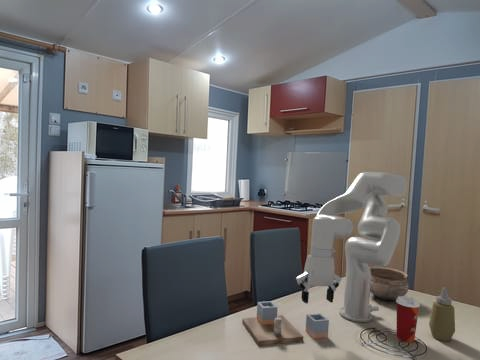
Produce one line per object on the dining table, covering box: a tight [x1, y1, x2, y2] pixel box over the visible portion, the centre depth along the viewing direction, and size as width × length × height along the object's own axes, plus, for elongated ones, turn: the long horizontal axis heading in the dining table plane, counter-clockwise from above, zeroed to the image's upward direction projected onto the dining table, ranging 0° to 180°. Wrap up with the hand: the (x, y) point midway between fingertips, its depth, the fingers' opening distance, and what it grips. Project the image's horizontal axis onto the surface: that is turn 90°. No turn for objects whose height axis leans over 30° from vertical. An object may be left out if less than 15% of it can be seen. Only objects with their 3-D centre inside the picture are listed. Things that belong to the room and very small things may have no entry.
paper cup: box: [395, 295, 421, 344], centre depth 121 cm, size 8×8×14 cm
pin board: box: [241, 306, 304, 346], centre depth 121 cm, size 16×17×6 cm
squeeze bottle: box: [428, 287, 456, 342], centre depth 123 cm, size 8×8×18 cm
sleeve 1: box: [256, 300, 278, 325], centre depth 125 cm, size 6×6×6 cm
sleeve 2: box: [305, 312, 330, 339], centre depth 120 cm, size 6×6×6 cm
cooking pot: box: [369, 266, 410, 302], centre depth 160 cm, size 25×19×12 cm
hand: (317, 301), depth 120 cm, fingers open, 9 cm apart
